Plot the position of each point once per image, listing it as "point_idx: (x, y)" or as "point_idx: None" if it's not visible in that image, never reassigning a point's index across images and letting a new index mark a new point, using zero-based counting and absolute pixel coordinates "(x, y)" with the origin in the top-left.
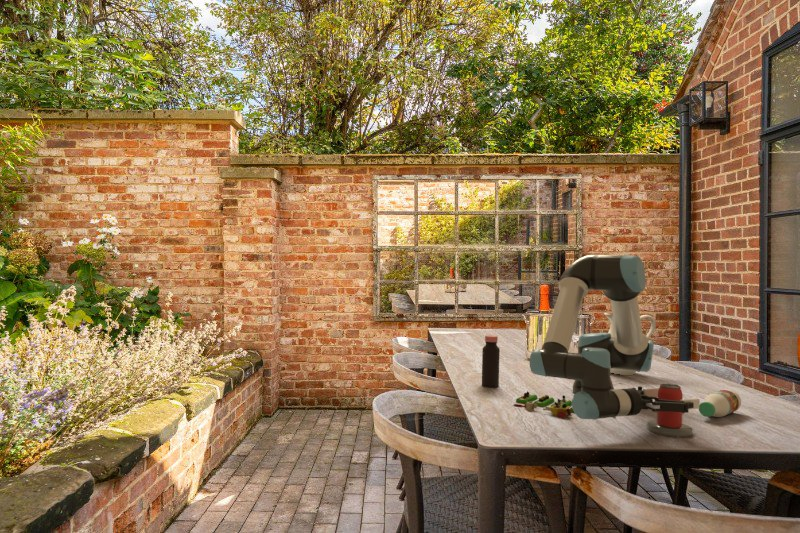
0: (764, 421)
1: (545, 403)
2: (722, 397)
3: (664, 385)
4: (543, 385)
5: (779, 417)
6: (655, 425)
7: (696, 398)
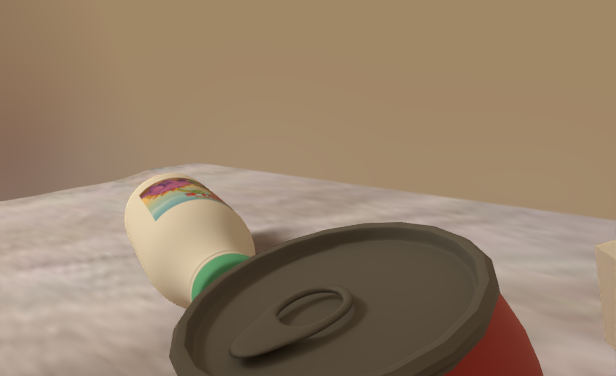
0: (317, 218)
1: None
2: (216, 205)
3: (271, 348)
4: None
5: (289, 192)
6: None
7: (604, 250)
